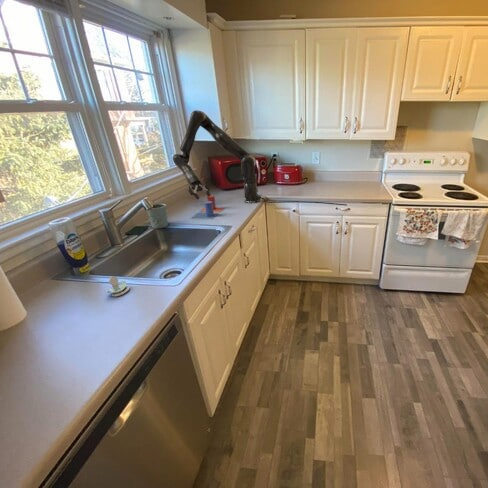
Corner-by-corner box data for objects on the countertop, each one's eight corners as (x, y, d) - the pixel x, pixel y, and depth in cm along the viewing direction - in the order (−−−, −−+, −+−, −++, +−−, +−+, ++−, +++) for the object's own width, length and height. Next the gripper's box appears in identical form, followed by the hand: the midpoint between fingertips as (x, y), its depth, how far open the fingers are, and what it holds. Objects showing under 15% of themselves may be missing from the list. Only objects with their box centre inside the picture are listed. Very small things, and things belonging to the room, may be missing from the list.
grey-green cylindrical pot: (150, 229, 157) (145, 209, 152) (150, 224, 165) (145, 204, 160) (170, 227, 161) (166, 207, 156) (169, 221, 170) (165, 202, 164)
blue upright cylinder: (215, 214, 181) (213, 201, 177) (212, 217, 177) (210, 203, 173) (208, 214, 181) (206, 201, 178) (205, 216, 177) (203, 203, 173)
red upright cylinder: (216, 208, 193) (215, 195, 189) (214, 210, 189) (212, 197, 185) (210, 208, 193) (208, 195, 190) (207, 210, 189) (205, 197, 185)
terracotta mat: (224, 208, 195) (224, 207, 195) (219, 212, 187) (219, 211, 187) (206, 207, 196) (206, 207, 196) (200, 211, 188) (200, 211, 187)
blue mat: (217, 213, 184) (217, 213, 184) (212, 219, 175) (211, 218, 174) (198, 213, 184) (198, 212, 184) (191, 218, 175) (191, 217, 175)
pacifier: (134, 288, 105) (121, 285, 106) (130, 273, 102) (117, 271, 104) (117, 299, 98) (103, 296, 100) (112, 284, 96) (98, 281, 97)
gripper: (184, 176, 187) (196, 196, 186) (203, 173, 197) (214, 192, 196) (181, 183, 192) (193, 202, 191) (200, 180, 203) (211, 198, 201)
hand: (204, 197), depth 193 cm, fingers open, 8 cm apart
